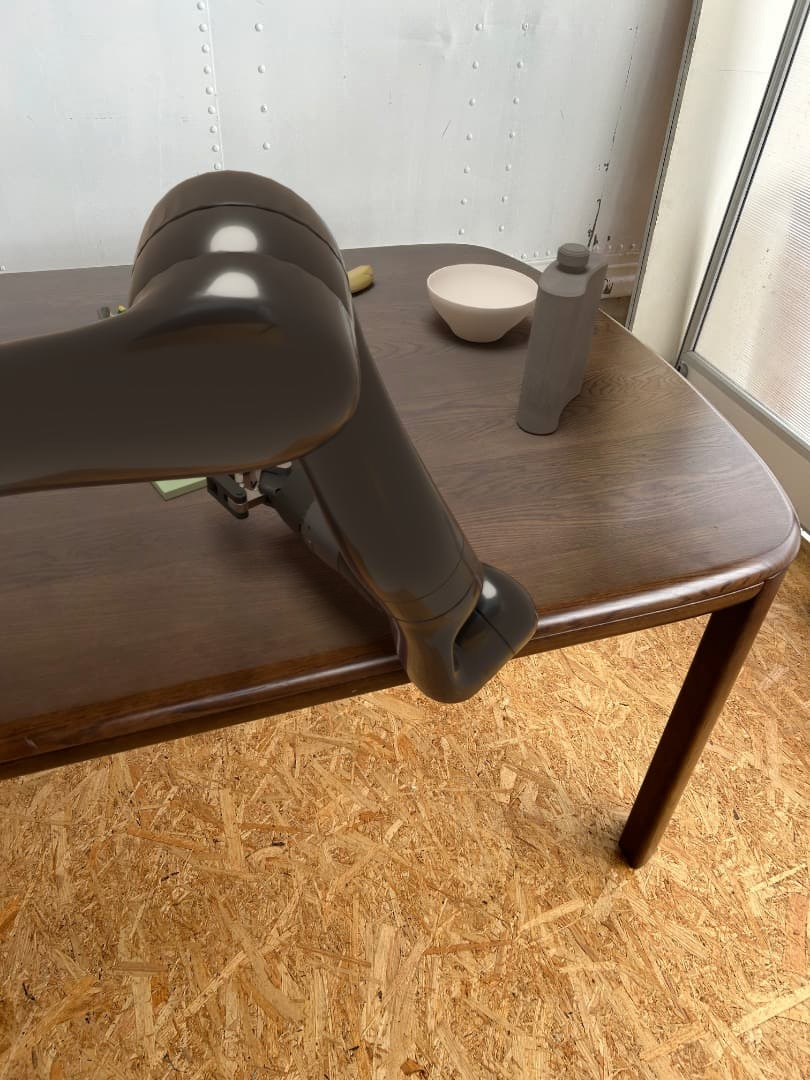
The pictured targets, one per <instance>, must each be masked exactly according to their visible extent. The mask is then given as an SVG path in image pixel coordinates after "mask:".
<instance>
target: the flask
mask: <svg viewBox="0 0 810 1080" xmlns="http://www.w3.org/2000/svg"><path fill="white" fill-rule="evenodd" d="M609 263H610V260H609V258H607V257H606V256H605V255H603V254H602V253H599V252H597V251H593V250H590V249H589V248H588V247H587V246H586V245H585V244H581V243H576V242H567V243H564V244H561V246H559V247H558V249H557V255H556V259H555V260H554V261H552V262H551V263H550V264H548V265H547V266H546V268H545V269H544V270H543V272H542V273H541V275H540V277H539V280H538V283H537V285H538V290H537V296H536V302H535V306H534V308H533V315H532V320H531V326H530V331H529V332H530V333H529V339H528V344H527V345H528V346H527V352H526V358H525V364H524V369H523V376H522V381H521V388H520V393H519V394H520V395H519V400H518V405H517V410H516V411H517V413H516V422H517V424H518V426H519V427H520V428H521V429H522V430H524V431H525V432H528V433H530V434H533V435H534V434H535V435H548V434H551V433H554V432H555V431H556V430H557V429H558V426H559V421H560V418H561V414H562V412H563V411H564V409H565V407H566V406H567V405H568V404H569V403H570V402H571V401H572V400H573V399H575V398H576V397H577V396H579V395H580V394H581V390H582V385H583V381H584V377H585V372H586V367H587V364H588V359H589V355H590V350H591V345H592V340H593V337H594V336H593V335H594V331H595V327H596V323H597V319H598V318H597V317H598V313H599V309H600V305H601V300H602V295H603V291H604V285H605V282H606V277H607V273H608V268H609Z"/></svg>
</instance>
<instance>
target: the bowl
mask: <svg viewBox="0 0 810 1080" xmlns="http://www.w3.org/2000/svg"><path fill="white" fill-rule="evenodd" d="M426 287H427V295H428V298H429V300H430V302H431V304H432V306H433V308H434V309H435V310H436V312H437V313H438V314H439V315H440V317H441V318H442V319H443V320H444V321H445V323H447V325H448V326H449V328H450V330H451V331H452V333H453V334H454V335H455V336H456V337H457V338H460V339H461V340H465V341H468V342H472V343H473V342H474V343H491V342H495V341H498V340H500V339H501V338H502V337H503V336H504V335H506V333H507V332H508V331H510V330H512V328H513V327H515V326H517V325H518V324H520V323H521V322H522V321H523V320H524V319H525V318H526V317H527V316H528V315H530V313H531V312H532V311H533V310H534V308H535V302H536V296H537V290H538V283H537V282H535V280H533V279H532V278H531V277H529V276H527V275H526V274H524V273H522V272H520V271H517V270H515V269H512V268H507V267H503V266H498V265H493V264H492V265H491V264H485V263H484V264H483V263H462V264H461V263H460V264H453V265H449V266H444V267H442V268H439V269H436V270H435V271H433V272H432V273H431V274H430V275H429V276H428V277H427V279H426Z"/></svg>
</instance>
